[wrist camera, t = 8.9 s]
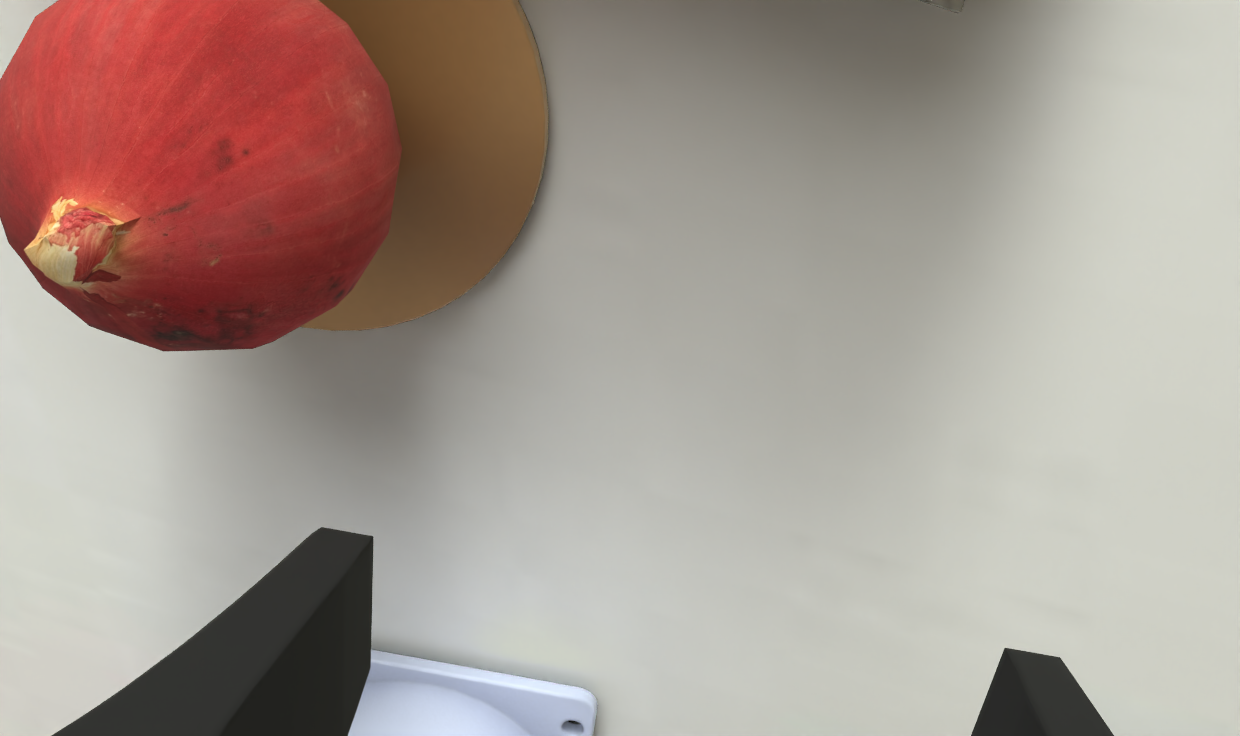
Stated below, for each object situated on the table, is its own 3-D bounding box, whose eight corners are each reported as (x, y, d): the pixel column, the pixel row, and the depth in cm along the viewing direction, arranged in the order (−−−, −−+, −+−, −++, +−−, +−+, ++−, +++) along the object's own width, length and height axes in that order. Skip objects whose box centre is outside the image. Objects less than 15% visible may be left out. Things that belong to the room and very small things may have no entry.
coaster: (527, 356, 24) (523, 365, 24) (96, 282, 24) (86, 291, 24) (573, -119, 19) (569, -115, 19) (42, -199, 20) (29, -198, 19)
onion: (476, 230, 22) (337, 471, 15) (190, 246, 23) (-63, 482, 16) (417, -99, 19) (212, 14, 13) (94, -67, 20) (-261, 57, 13)
